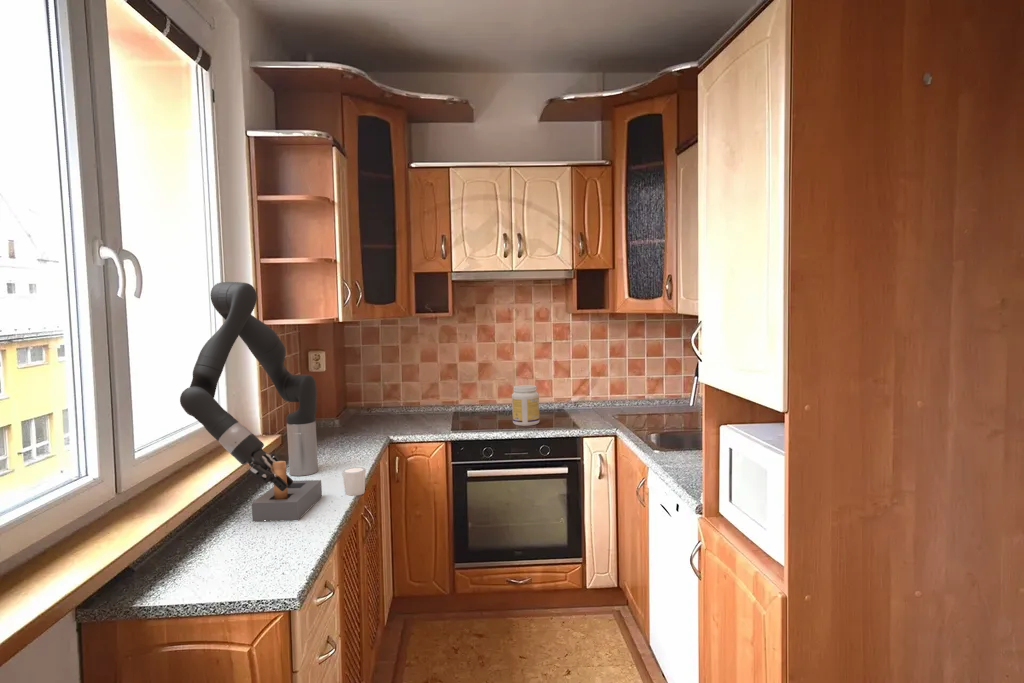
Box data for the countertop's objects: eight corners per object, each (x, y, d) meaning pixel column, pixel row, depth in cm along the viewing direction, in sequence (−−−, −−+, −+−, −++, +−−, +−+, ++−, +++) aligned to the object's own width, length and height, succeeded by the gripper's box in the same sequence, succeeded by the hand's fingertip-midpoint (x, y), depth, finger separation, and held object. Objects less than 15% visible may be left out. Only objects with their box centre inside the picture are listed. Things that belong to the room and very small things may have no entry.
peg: (278, 504, 174) (275, 461, 174) (290, 503, 174) (287, 460, 173) (272, 508, 171) (270, 464, 170) (285, 507, 171) (282, 464, 170)
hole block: (281, 497, 188) (280, 481, 188) (322, 496, 188) (321, 480, 187) (252, 521, 168) (251, 503, 168) (297, 520, 168) (296, 502, 167)
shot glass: (342, 491, 192) (340, 468, 192) (365, 488, 195) (364, 465, 194) (344, 497, 186) (343, 474, 185) (368, 494, 188) (367, 471, 188)
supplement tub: (539, 420, 292) (538, 384, 290) (540, 426, 279) (539, 387, 278) (512, 421, 292) (511, 384, 291) (512, 426, 280) (511, 388, 279)
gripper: (238, 439, 164) (287, 484, 165) (261, 427, 178) (306, 469, 179) (219, 459, 165) (268, 504, 165) (243, 446, 179) (288, 488, 180)
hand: (288, 486), depth 172 cm, fingers closed on peg, 3 cm apart
